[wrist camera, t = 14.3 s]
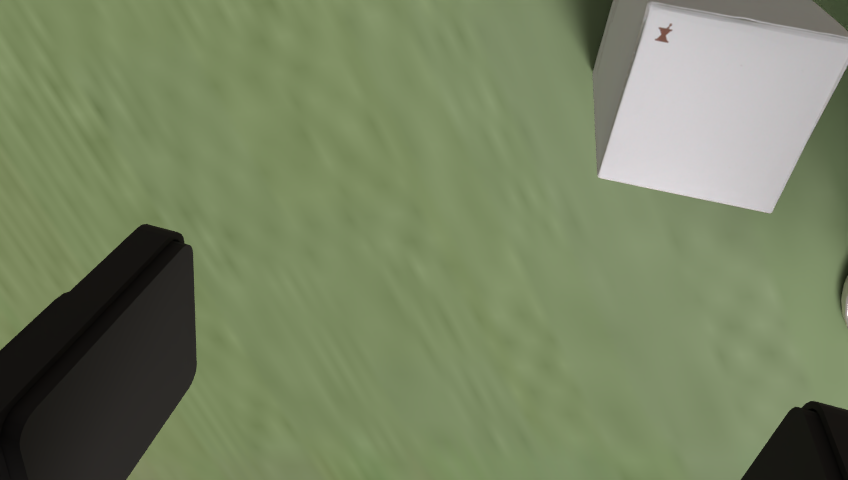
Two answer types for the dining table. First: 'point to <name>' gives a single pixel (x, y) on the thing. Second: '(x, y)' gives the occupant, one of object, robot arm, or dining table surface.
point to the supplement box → (713, 94)
